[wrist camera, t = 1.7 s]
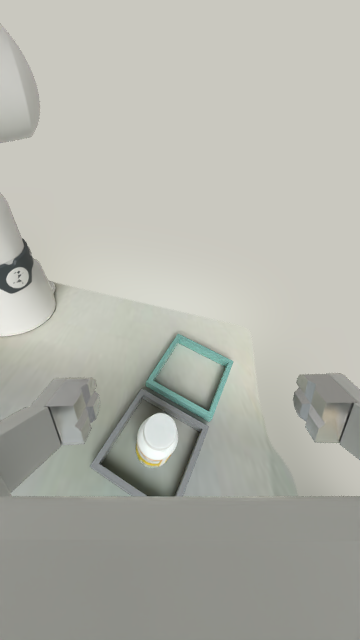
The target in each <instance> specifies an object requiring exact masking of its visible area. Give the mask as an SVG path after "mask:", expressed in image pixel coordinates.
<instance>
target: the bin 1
mask: <svg viewBox="0 0 360 640" xmlns="http://www.w3.org/2000/svg"><path fill="white" fill-rule="evenodd" d="M178 343H180V344H182V345H184V346H186V347H188V348H190V349H192V350H193V351H195V352H197V353H199V354H201V355H203V356H205V357H207V358H209V359H211V360H213V361H215V362H217V363H219V364H221V365H223V366H225V367H226V368H225V370H224V373H223V375H222V378H221V380H220V383H219V385H218V388H217V390H216V393H215V395H214V398H213V400H212V403H211V405H210V408H209V410H208V411H207V410H205V409H203V408H201V407H200V406H198V405H196V404H194V403H192V402H191V401H189V400H187V399H185V398H184V397H182V396H180V395H178V394H176V393H175V392H173V391H171V390H169V389H167V388H166V387H164V386H162V385H160V384H158V383H157V382H155V381H154V380H155V379H156V377H157V376H158V374H159V373H160V371H161V369H162V368H163V366H164V365H165V363H166V362H167V360H168V358H169V357H170V355H171V354H172V352H173V351H174V349H175V347H176V346H177V344H178ZM232 364H233V361H232V360H230V359H228V358H226V357H224V356H222V355H220V354H218V353H216V352H214V351H212V350H210V349H208V348H206V347H204V346H202V345H200V344H198V343H196V342H194V341H192V340H190V339H188V338H186V337H184V336H182V335H180V334H178V335H177V336H176V338H175V339H174V341H173V342H172V344H171V345H170V347H169V348H168V350H167V351H166V353H165V354H164V356H163V357H162V359H161V360H160V362H159V363H158V365H157V366H156V368H155V369H154V371H153V372H152V374H151V375H150V377H149V378H148V380H147V381H146V387H148V388H150V389H152V390H153V391H155V392H157V393H159V394H160V395H162V396H164V397H166V398H167V399H169V400H171V401H173V402H175V403H176V404H178V405H180V406H182V407H183V408H185V409H187V410H189V411H190V412H192V413H194V414H196V415H197V416H199V417H201V418H203V419H205V420H206V421H208V422H210V420H211V419H212V417H213V415H214V412H215V409H216V407H217V404H218V401H219V399H220V396H221V393H222V391H223V388H224V385H225V383H226V380H227V377H228V375H229V372H230V369H231V367H232Z"/></svg>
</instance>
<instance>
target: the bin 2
mask: <svg viewBox="0 0 360 640" xmlns="http://www.w3.org/2000/svg"><path fill="white" fill-rule="evenodd" d="M142 399H144V400H146V401H147V402H149V403H151V404H153V405H154V406H156V407H158V408H160V409H161V410H163V411H165V412H166V413H168V414H170V415H172V416H173V417H175V418H177V419H178V420H180V421H182V422H184V423H185V424H187V425H189V426H191V427H192V428H194V429H196V430H197V431H199V432H200V433H199V436H198V438H197V441H196V443H195V446H194V448H193V451H192V453H191V456H190V458H189V461H188V464H187V466H186V469H185V471H184V474H183V476H182V479H181V481H180V484H179V486H178V489H177V491H176V494H175V496H183V495H184V492H185V490H186V487H187V484H188V482H189V479H190V476H191V474H192V471H193V468H194V466H195V463H196V460H197V458H198V455H199V452H200V450H201V447H202V444H203V442H204V439H205V436H206V433H207V431H208V428H209V426H207V425H205V424H203V423H202V422H200V421H198V420H196V419H195V418H193V417H191V416H189V415H188V414H186V413H184V412H182V411H181V410H179V409H177V408H175V407H174V406H172V405H170V404H168V403H167V402H165V401H163V400H161V399H160V398H158V397H156V396H154V395H153V394H151V393H149V392H147V391H146V390H144V389H141V390H140V392H139V393H138V395H137V396H136V398H135V399H134V401H133V402H132V404H131V405H130V407H129V408H128V410H127V411H126V413H125V414H124V416H123V417H122V419H121V420H120V422H119V423H118V425H117V426H116V428H115V429H114V431H113V432H112V434H111V435H110V437H109V438H108V440H107V441H106V443H105V444H104V446H103V447H102V449H101V450H100V452H99V453H98V455H97V456H96V458H95V459H94V461H93V462H92V464H91V465H90V467H91V469H93V470H94V471H96V472H97V473H99V474H100V475H102V476H103V477H105V478H106V479H108V480H109V481H111V482H112V483H113V484H115V485H116V486H118V487H119V488H121V489H122V490H124V491H125V492H127V493H128V494H130V495H131V496H146V495H145V494H143V493H142V492H140V491H139V490H138V489H136V488H135V487H133V486H132V485H130V484H129V483H127V482H126V481H124V480H123V479H121V478H120V477H118V476H117V475H115V474H114V473H112V472H111V471H109V470H108V469H106V468H105V467H103V466H102V465H101V463H102V462H103V460H104V459H105V457H106V456H107V454H108V452H109V451H110V449H111V448H112V446H113V445H114V443H115V442H116V440H117V438H118V437H119V435H120V434H121V432H122V431H123V429H124V427H125V426H126V424H127V423H128V421H129V420H130V418H131V416H132V415H133V413H134V412H135V410H136V409H137V407H138V405H139V404H140V402H141V401H142Z"/></svg>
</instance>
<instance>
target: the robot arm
mask: <svg viewBox="0 0 360 640" xmlns="http://www.w3.org/2000/svg"><path fill="white" fill-rule="evenodd" d="M39 102H40V101H39V94H38V89H37V86H36V82H35V79H34V76H33V74H32V71H31V69H30V67H29V65H28V63H27V61H26V59H25V57H24V55H23V54H22V52H21V50H20V48H19V47H18V45H17V44H16V43H15V41H14V40H13V38H12V37H11V36H10V34H9V33H8V32H7V31H6V29H4V27H3V26H2V25H1V24H0V143H3V142H9V141H15V140H20V139H24V138H29V137H31V136H32V135H33V133H34V132H35V130H36V128H37V125H38V121H39V115H40V103H39ZM55 289H56V286H55V284H54V283H53V282H51V281H48V279H47V277H46V275H45V273H44V271H43V269H42V267H41V265H40V263H39V261H37V260H35V259H33V258H32V255H31V251H30V249H29V247H28V246H27V243H26V242H25V240H24V239H22V238H21V235H20V233H19V230H18V228H17V225H16V223H15V220H14V217H13V215H12V212H11V210H10V207H9V205H8V202H7V201H6V199H5V198H4V196H3V195H2V194H1V193H0V336H11V335H17V334H21V333H25V332H28V331H30V330H32V329H35V328H36V327H38V326H40V325H41V324H43V323H44V322H45V321H47V320H48V319H49V318H50V316H51V315H52V314H53V312H54V310H55V306H56V302H55V298H54V292H55ZM296 383H297V385H298V386H299V388H298V389H297V390H296V391H295V392H294V398H293V401H294V407H295V410H296V412H297V414H298V416H299V417H300V418H302V419H303V420H305V421H306V426H305V427H306V428H307V431H308V432H309V434H310V435H311V437H312V439H313V440H314V442H317V443H340V445H341V446H342V447H344V448H345V449H346V450H347V451H349V452H350V453H351V454H353V455H354V456H355V457H356V458H358V459H359V460H360V389H359V388H358V387H357V386H355V385H354V384H353V383H352V382H351V381H350V380H349V379H348V378H347V377H346V376H344V375H343V374H341V373H329V374H310V375H309V374H307V375H299V376H298V378H297V382H296ZM96 387H97V384H96V381H95V379H94V378H55V379H53V380H52V381H51V383H50V384H49V385H48V386H47V387H46V388H45V389H44V391H43V392H42V393H41V394H40V395H39V396H38V398H37V399H36V400H35V401H34V402H33V403H32V405H31V406H30V407H25V408H23V409H21V410H19V411H17V412H16V413H14V414H12V415H10V416H8V417H6V418H5V419H3V420H1V421H0V640H360V496H305V497H304V496H259V497H207V496H12V495H11V492H12V491H13V490H14V489H16V488H17V487H18V486H19V485H20V484H21V483H22V482H23V481H24V480H25V479H26V478H28V477H29V476H30V475H31V474H32V473H33V472H34V471H35V470H36V469H37V468H38V467H39V466H41V465H42V464H43V463H44V462H45V461H46V460H47V459H48V458H49V457H50V456H51V455H53V454H54V453H55V452H56V451H57V450H58V449H59V448H60V447H61V445H73V444H85V442H86V440H87V438H88V435H89V433H90V431H91V429H92V428H91V424H90V423H92V422H93V421H94V420H95V419H96V418H97V416H98V413H99V409H100V397H99V394H98V393H96V392H95V389H96Z"/></svg>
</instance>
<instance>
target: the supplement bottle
mask: <svg viewBox="0 0 360 640" xmlns="http://www.w3.org/2000/svg"><path fill="white" fill-rule="evenodd" d="M177 443H178V430H177V427H176V424H175V422H174V420H173V419H172V418H171V417H170V416H169V415H167V414H165V413H156V414H154V415H152V416H150V417H149V418H147V419H146V420H145V421H144V422H143V423H142V424H141V426H140V428H139V431H138V435H137V443H136V454H137V457H138V459H139V461H140V462H141V463H142V464H143V465H144V466H146V467H148V468H157V467H160V466H162V465H163V464H164V463H165V462H166V461H167V460H168V458H169V457H170V456H171V454H172V453H173V452H174V450H175V448H176V446H177Z"/></svg>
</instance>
